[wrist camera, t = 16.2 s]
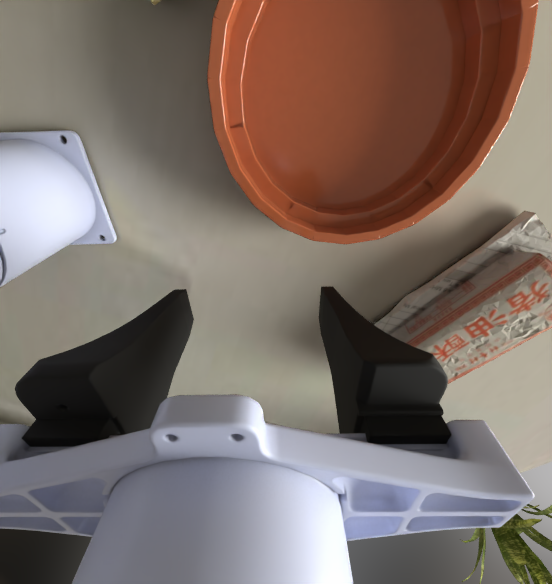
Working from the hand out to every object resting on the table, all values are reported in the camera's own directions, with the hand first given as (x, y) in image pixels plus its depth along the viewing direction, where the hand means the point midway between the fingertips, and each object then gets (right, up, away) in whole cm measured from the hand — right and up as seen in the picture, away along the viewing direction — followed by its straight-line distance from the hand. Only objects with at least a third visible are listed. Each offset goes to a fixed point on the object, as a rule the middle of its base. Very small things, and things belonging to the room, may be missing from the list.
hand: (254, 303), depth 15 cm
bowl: (+6, +13, +3) cm, 14 cm away
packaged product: (+18, -1, +12) cm, 22 cm away
